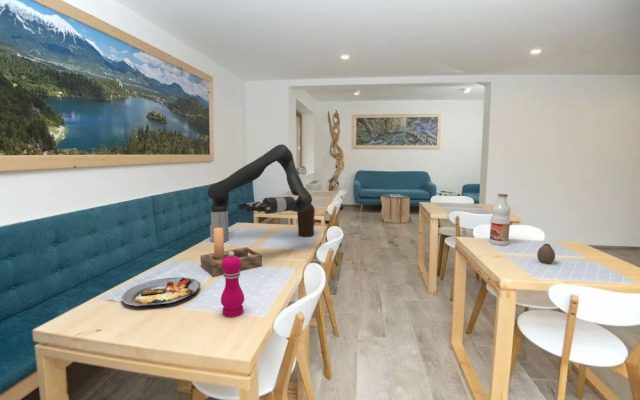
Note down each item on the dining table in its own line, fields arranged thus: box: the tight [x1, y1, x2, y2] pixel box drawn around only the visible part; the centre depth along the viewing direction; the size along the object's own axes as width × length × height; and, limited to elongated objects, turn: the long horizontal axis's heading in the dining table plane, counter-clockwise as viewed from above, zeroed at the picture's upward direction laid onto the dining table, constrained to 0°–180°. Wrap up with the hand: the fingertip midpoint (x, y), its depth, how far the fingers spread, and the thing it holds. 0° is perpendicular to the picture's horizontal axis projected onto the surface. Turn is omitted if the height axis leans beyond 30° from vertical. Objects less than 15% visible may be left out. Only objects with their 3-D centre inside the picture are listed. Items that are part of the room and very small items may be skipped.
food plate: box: [120, 276, 201, 307], centre depth 120 cm, size 25×23×4 cm
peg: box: [213, 227, 225, 260], centre depth 146 cm, size 8×8×18 cm
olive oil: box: [296, 203, 315, 238], centre depth 206 cm, size 11×11×25 cm
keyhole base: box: [200, 246, 263, 278], centre depth 150 cm, size 22×16×5 cm
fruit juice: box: [489, 193, 512, 246], centre depth 188 cm, size 9×9×28 cm
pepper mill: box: [220, 251, 245, 318], centre depth 106 cm, size 7×7×20 cm
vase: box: [536, 243, 556, 265], centre depth 156 cm, size 7×7×9 cm
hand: (242, 208), depth 150 cm, fingers open, 8 cm apart
